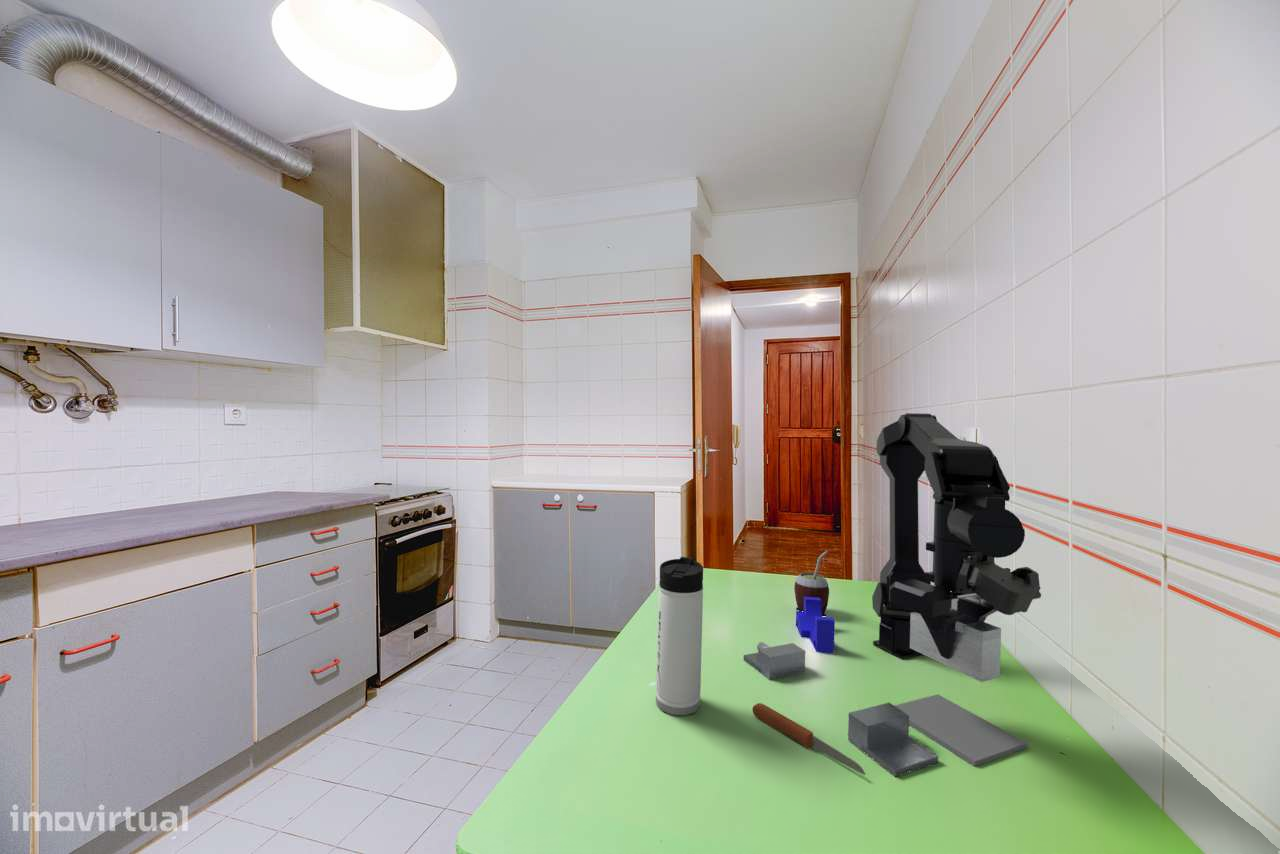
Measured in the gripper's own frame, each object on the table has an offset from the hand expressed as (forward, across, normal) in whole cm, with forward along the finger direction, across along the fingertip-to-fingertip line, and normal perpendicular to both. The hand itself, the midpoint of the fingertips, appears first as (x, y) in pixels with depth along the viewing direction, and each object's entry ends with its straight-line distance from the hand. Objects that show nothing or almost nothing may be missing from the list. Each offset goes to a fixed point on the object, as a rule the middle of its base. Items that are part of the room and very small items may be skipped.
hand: (955, 655), depth 66 cm
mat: (+10, 0, 0) cm, 10 cm away
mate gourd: (+10, +11, +39) cm, 42 cm away
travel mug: (+10, -32, +18) cm, 38 cm away
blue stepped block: (+10, +2, +29) cm, 31 cm away
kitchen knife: (+10, -21, +4) cm, 24 cm away
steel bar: (+1, 0, 0) cm, 1 cm away
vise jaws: (+10, -12, +11) cm, 19 cm away
